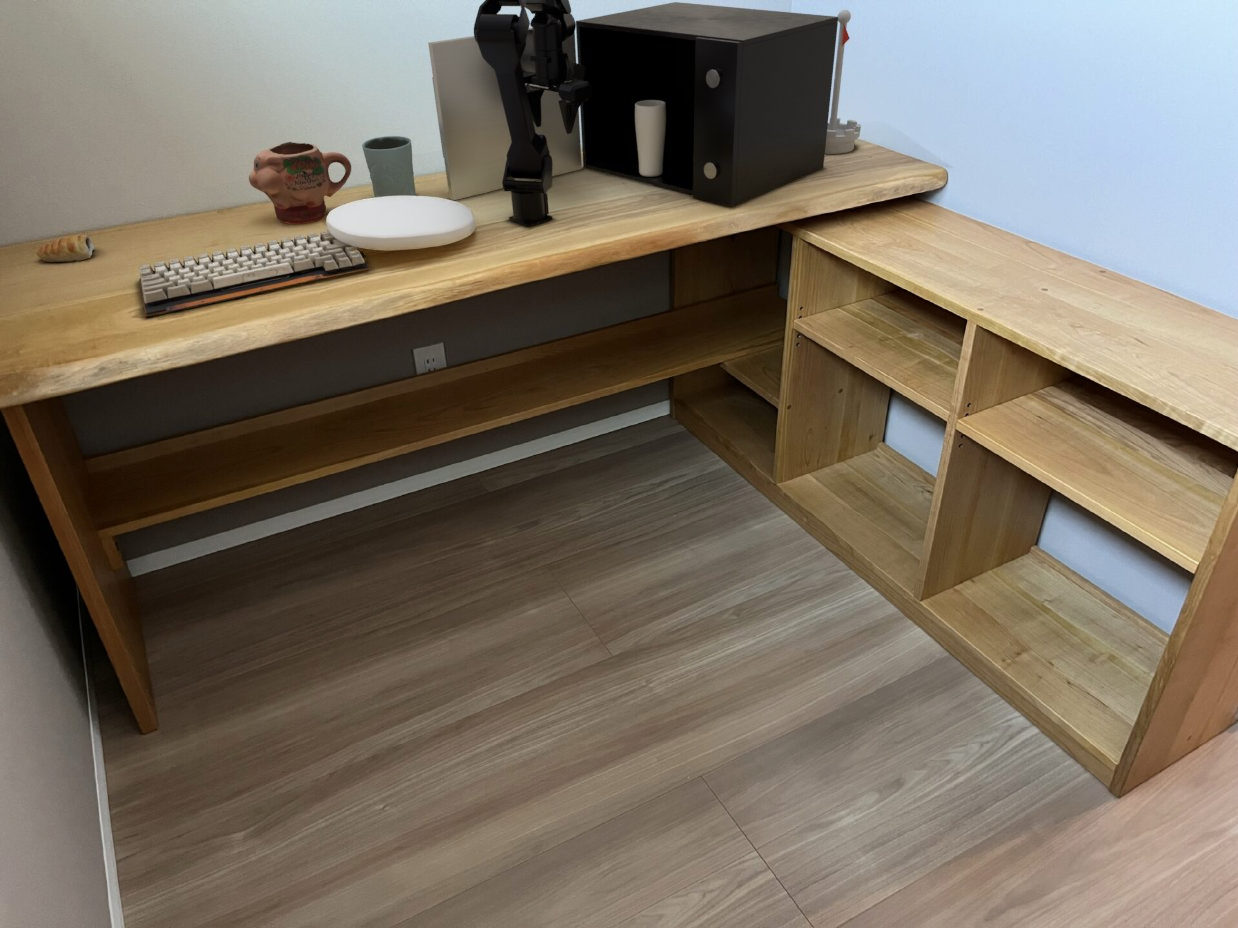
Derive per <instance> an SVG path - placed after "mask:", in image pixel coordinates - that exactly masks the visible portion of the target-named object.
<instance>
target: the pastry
mask: <svg viewBox="0 0 1238 928" xmlns="http://www.w3.org/2000/svg"><path fill="white" fill-rule="evenodd" d="M93 250H95V243H94V242H93V241H92V239H91V238H90V236H89V235H88V234H86V233H83V234H80V235H68V236H63V237H62V238H56V239H55V240H53V241H51V242H49V243H47V244H45V245H43V246H41V247H39V249H38V250H36V252H35V254H36V255H37V257H38V258H39V259H40V260H42V261H44V262H49V263H53V262H54V263H55V262H56V263H57V262H58V263H60V262H73V261H84V260H86V259H90V258H91V257H92V255H93Z"/></svg>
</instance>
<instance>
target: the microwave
mask: <svg viewBox="0 0 1238 928" xmlns="http://www.w3.org/2000/svg"><path fill="white" fill-rule="evenodd" d="M575 23H576V28H575V31H576V32H575V35H576V51H577V52H576V55H577V64H580V65H584V66H586V70H585V75H584V81H587V82H589V83H590V84H591V85H592V94H593V96H592V97H588V100H587V101H583V103H582V104H581V105H580V107H579V114H580V133H581V153H582V169H587V170H591V171H595V172H598V173H603V174H608V175H611V176H615V177H620V178H624V179H627V180H632V181H635V182H639V183H643V184H648V185H652V186H655V187H658V188H663V189H665V190H670V191H674V192H679V193H682V194H687V195H690V196H692V198H693V199H698V200H702V201H707V202H709V203H714V204H718V205H722V206H725V207H729V208H732V207H733V206H735V207H736V206H739V205H741V204H744V203H745V202H749V201H751V200H752V199H755V198H757V197H760V196H762V195H765V194H766V193H769V192H771V191H774V190H776V189H779V188H781V187H784V186H786V185H788V184H790V183H792V182H795V181H797V180H799V179H801V178H804V177H806V176H809V175H811V174H814V173H815V172H816V173H817V172H818V171H820V170H823V169H824V166H825V155H826V154H825V147H826V137H827V127H828V123H829V118H830V117H829V116H830V105H831V97H832V87H833V74H834V64H835V54H836V46H837V45H836V44H837V37H838V27H839V26H838V24H839V21H838V16H833V15H823V14H822V15H821V14H810V13H801V12H789V11H788V12H787V11H779V10H766V9H756V8H744V7H733V6H723V5H713V4H711V5H710V4H701V3H690V2H678V1H674V2H667V3H663V4H658V5H653V6H648V7H642V8H637V9H632V10H626V11H622V12H621V11H620V12H615V13H610V14H606V15H601V16H600V15H599V16H594V17H590V18H584V19H579V20H575ZM644 100H660V101H664V102H665V103H666V132H665V144H664V156H663V173H662V174H661V175H659V176H655V177H645V176H642V175H641V174H640V173H639V161H638V150H637V139H636V129H635V103H637V102H639V101H644Z"/></svg>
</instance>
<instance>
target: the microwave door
mask: <svg viewBox="0 0 1238 928" xmlns="http://www.w3.org/2000/svg"><path fill="white" fill-rule="evenodd" d="M427 44H428V53H429V59H430V64H431V72H432V77H431V79H432V85H433V86H432V87H433V94H434V101H435V109H436V115H437V123H438V131H439V137H440V145H441V152H442V158H443V160H444V167H445V173H446V174H445V175H446V182H447V189H448V196H449V197H448V198H449V200H452V201H457V200H461V199H465V198H469V197H474V196H477V195H482V194H486V193H491V192H494V191H498V190H503V189H504V188H503V184H502V181H503V176H504V171H505V165H506V161H507V152H508V150H509V147H510V145H511V137H510V132H509V128H508V124H507V120H506V116H505V111H504V107H503V103H502V99H501V95H500V90H499V86H498V82H497V78H496V74H495V70H494V69H493V68H492V67H491V66H490V65H489V64H488V63H487V62H486V61H485V60H484V59H483V57H482V55H481V52H480V49H479V46H478V43H477V42H476V41H475V37H474V35H471V36H465V37H458V38H457V37H456V38H451V39H443V40H437V41H436V40H435V41H429V42H427ZM562 48H563V53H567V55H568V57H569V61H570V62H574V63H577V52H576V51H577V47H576V32H574V34H573V35H572V36H571V37H570V38H568V39H566V40H565V41H563V42H562ZM533 54H534V44H533V31H532V27H529V29H528V33H527V37H526V46H525V49H524V52H523V54H522V57H521V60H520V61H521V67H522V71H523V73H525V72H534V73H536V71H535V61H530V55H533ZM571 81H572V80H571ZM566 82H570V81H564V83H566ZM546 86H548V85H546ZM554 87H556V86H554ZM560 100H562V99H561V98H560V96H559V93H558V92H553V91H548V90H544V93H543V95H542V97H541V126H540V127H536V125H535V123H534V122H533V123H534V128H535V132H536V133H537V134H538V135H545V137H546V139H547V145H548V149H549V151H550V153H549V155H550V156H551V157H552V163H553V166H552V177H556V176H560V175H564V174H567V173H572V172H576V171H580V170H583V162H582V143H581V124H580V108H579V109H578V112H577V115H576V119H575V122H574V126H573V130H572V133H570V134H567V133H566V130H565V127H564V122H563V118H562V114H561V110H560V106H559V102H558V101H560ZM515 180H518V181H536V180H535V179H515Z"/></svg>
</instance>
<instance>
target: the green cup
mask: <svg viewBox="0 0 1238 928" xmlns="http://www.w3.org/2000/svg"><path fill="white" fill-rule="evenodd" d="M361 147H362V151H363V155H364V159H365V163H366V166H367V169H368V172H369V178H370V180H371V184H372V191H373V195H374V198H375V197H384V196H417V194H416V185H415V178H414V177H415V176H414V174H415V173H414V165H413V164H414V163H413V146H412V140H411V139H410V138H409V137H407V136H400V135H389V136H379V137H374V138H370V139H367V140H365V141H364V142H362V144H361Z"/></svg>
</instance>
